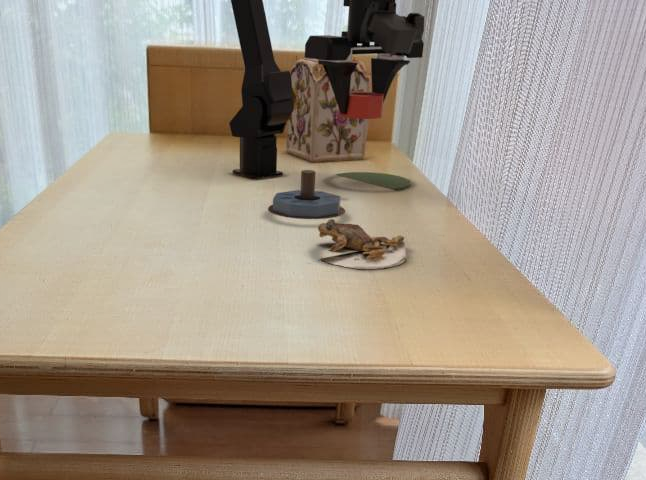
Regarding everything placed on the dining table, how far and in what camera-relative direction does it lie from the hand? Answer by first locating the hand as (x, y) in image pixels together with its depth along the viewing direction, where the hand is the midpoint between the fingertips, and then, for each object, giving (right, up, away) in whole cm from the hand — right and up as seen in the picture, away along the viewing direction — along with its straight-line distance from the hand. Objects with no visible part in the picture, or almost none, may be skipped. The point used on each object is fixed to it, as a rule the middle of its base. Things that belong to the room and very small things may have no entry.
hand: (360, 112), depth 125 cm
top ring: (0, 0, 0) cm, 0 cm away
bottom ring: (-9, -19, -10) cm, 23 cm away
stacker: (-9, -20, -9) cm, 23 cm away
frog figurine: (-3, -31, -25) cm, 40 cm away
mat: (+3, -6, +11) cm, 13 cm away
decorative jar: (-3, +8, +32) cm, 33 cm away
